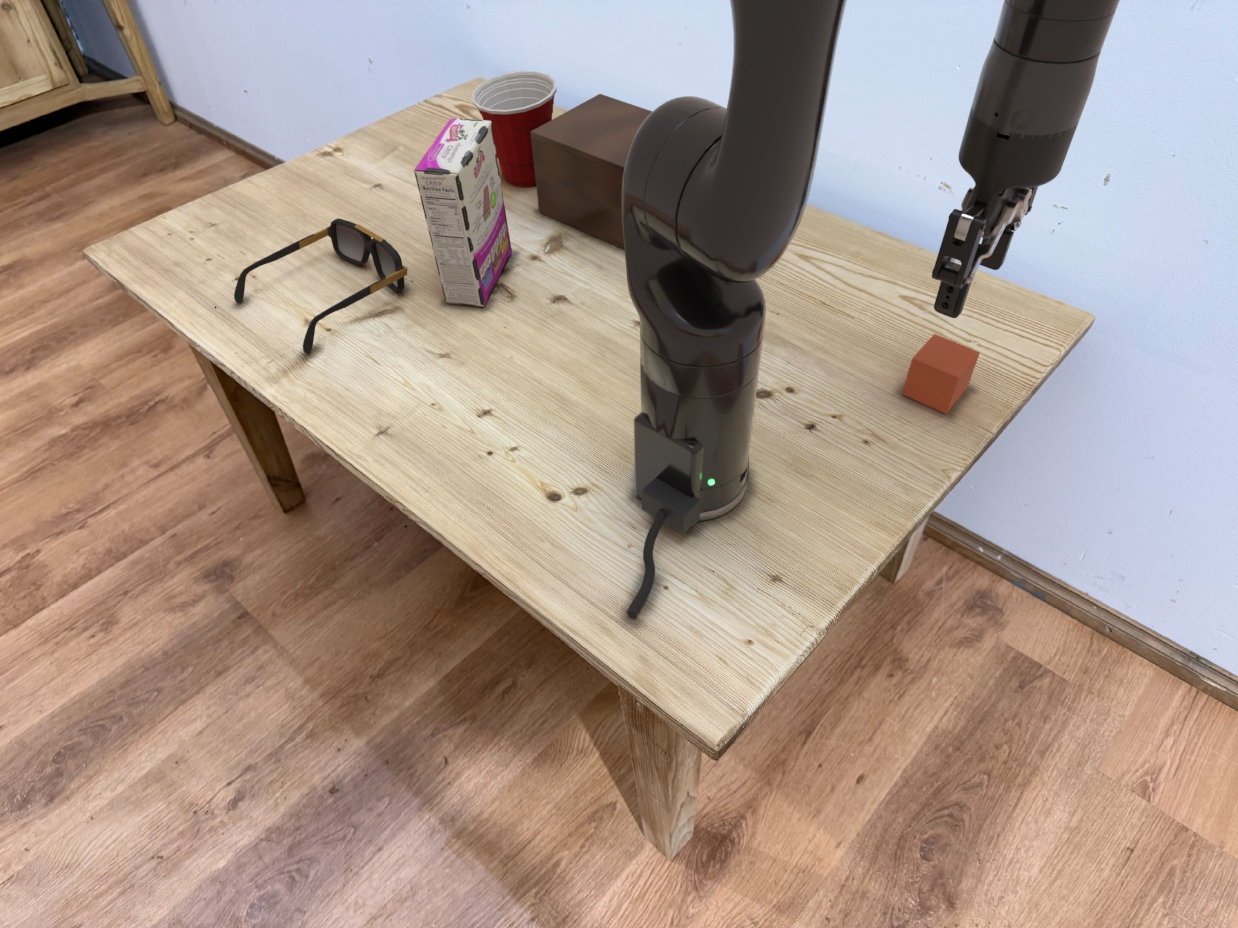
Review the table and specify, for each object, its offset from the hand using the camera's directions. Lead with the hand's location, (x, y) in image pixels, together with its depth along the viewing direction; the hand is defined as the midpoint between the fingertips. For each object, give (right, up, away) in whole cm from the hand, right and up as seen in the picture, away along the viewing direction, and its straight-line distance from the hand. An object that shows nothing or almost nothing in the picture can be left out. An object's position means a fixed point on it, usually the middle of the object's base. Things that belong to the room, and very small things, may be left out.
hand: (967, 288), depth 74 cm
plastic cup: (-43, +23, +39) cm, 63 cm away
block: (0, -8, +9) cm, 12 cm away
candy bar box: (-47, +6, +24) cm, 53 cm away
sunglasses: (-63, +3, +22) cm, 67 cm away
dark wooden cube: (-31, +17, +33) cm, 48 cm away
